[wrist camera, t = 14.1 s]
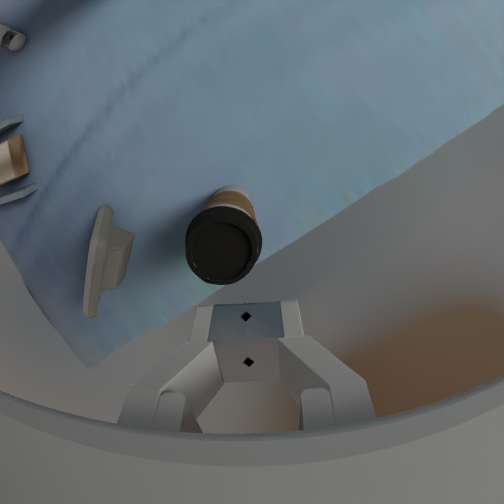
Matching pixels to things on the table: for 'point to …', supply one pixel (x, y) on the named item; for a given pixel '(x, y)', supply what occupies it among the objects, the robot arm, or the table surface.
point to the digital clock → (105, 259)
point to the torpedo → (3, 33)
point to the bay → (25, 190)
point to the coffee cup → (224, 238)
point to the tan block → (12, 159)
